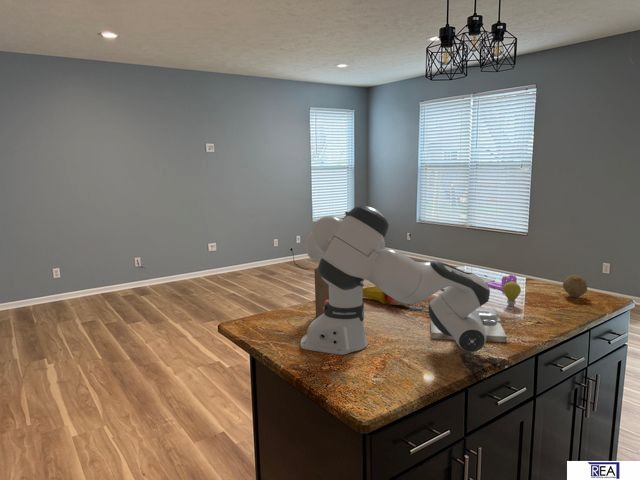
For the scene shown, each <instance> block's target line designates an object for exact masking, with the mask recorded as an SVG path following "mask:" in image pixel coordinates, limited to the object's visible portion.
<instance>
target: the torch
mask: <svg viewBox="0 0 640 480" xmlns="http://www.w3.org/2000/svg"><path fill="white" fill-rule="evenodd" d="M362 295H364V296H365V297H367V298H369V299H371V300H375V301H378V302H380V303H381V304H384V305H387V304H389V303H390V304H391V305H392V306H393V305H395V306H403V307H406V308H410V304H405V303H401V302H399V301H397V300H395V299H393V298H391V297H390V296H388V295H387V294H385V293H384V292H383V291H381V290H380V289H379V288H378V287H377V286H376V287H375V286H374V287H372V286H370V287H368V286H367V287H363V293H362Z"/></svg>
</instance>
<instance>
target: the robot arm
mask: <svg viewBox="0 0 640 480" xmlns="http://www.w3.org/2000/svg"><path fill="white" fill-rule="evenodd" d="M344 214H345V216H344V217H343V218H341V217H340V216H334V215H325V216H322V217H320V218H319V219H318V220H316V221H315V223H314V224H313V227H312V229H311V231H310V233H308V235H307V237H306V239H305V244H304V246H305V252H306V255H307V256H308V257H309V259H310V260H313V261H317V262H319V264H318V266H317V267H318V273H319V275H320V276H321V277H322V279H323V280H324V281H325V282H326V283H327V284H328V285H329V300H326V301H325V302H324V305H323V312H324V313H323V314H322V315H320V316H319V317H318V318H316V317H315V319H314V320H313V321H311V323H310V324H309V326H308V329H307V333H306V334H304V335H303V336H302V338H301V340H300V348H301V349H303V350H307V351H314V352H320V353H326V354H334V355H339V356H345V355H347V354H349V353H354V352H358V351H360V350H361V351H362V350H363V349H366V347H367V346H368V344H369V342H368V339H367V336H366V330H365V323H364V320H365V305H364V304H365V303H364V301H363V288H364V285H365V284H364V281H369V282H370V283H372V284H373V285H374V286H376V287H378V288H379V289H380V290H381V291H383V292H384V293H385V294H387V295H388V296H390V297H391V298H393V299H395V300H397V301H399V302H401V303H405V304H409V305H414V304H419V303H422V302H424V301H425V300H426V299H428V298H430V297H431V296H433V295H434V294H436V293H438V292H439V291H442V290H441V289H443V288H445V287H448V286H449V287H448V288H447V289H446V290H444V291H442V292H440V293H439V294H437V296H436V297H434V298H433V299H432V300H431V301H430V302H428V308H427V309H428V316H429V318H430V321H431V320H432V322H433V323H434V325H435V326H436V327H437V328H438V330H440V331H441V332H442V333H443V334H445V335H448V336H453V337H454V339H453V340H455V342H456V343H457V345H458V346H459V348H460V349H462V350H463V351H464V352H469V353H474V352H478V351H479V350H481V349H482V348H483V347H484V346H485V345H486V342H487V341H486V331H485V328H484V326H495V325H496V324H497V323H500V324H501V322H502V320H501V318H500V317H498V310H497V309H496V308H492V307H491V308H490V307H482V306H483V305H485V304H486V303H488V302H489V301H490V293H491V292H490V291H491V290H490V287H488V286H487V284H486V283H485V281H484V280H483V279H481V278H480V277H481V276H480V275H478V274H475V273H473V272H467V271H464V270H461V269H459V268H457V267H455V266H453V265H450V264H448V263H444V262H441V261H438V260H431V261H427V262H425V261H424V262H421V261H416V260H414V259H413V258H411V257H410V256H408V255H406V254H403V253H402V252H400V251H397V250H395V249H390V248H386V242H385V239H384V238H385V237H386V234H387V233H388V229H389V222H388V220H387V218H385V216H384V214H382V213H381V212H380V211H379V210H378V209H376V208H374V207H371V206H367V205H363V204H362V205H358V206H355V207H353V208H352V209H351V210H349V211H345V212H344Z"/></svg>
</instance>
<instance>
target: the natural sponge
mask: <svg viewBox="0 0 640 480" xmlns="http://www.w3.org/2000/svg"><path fill="white" fill-rule="evenodd" d="M562 287H563V290H564V291H565V292H566V293H567V294H568V295H569V296H570V297H571V298H574V299H576V298H579V297H580V296H583V295H584V294H586V293H587V291H588V285H587V283H586V280H585V278H583V276H580V275H578V274H572V275H569V276H567V277H566V278H565V279H564V282H562Z"/></svg>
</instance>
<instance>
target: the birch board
mask: <svg viewBox="0 0 640 480" xmlns="http://www.w3.org/2000/svg"><path fill="white" fill-rule="evenodd" d="M484 328H485V331H486V342H495V343H497V342H498V343H507V334H506V332H505V330H504V328H503V326H502V324H501V323H497V324H496V325H495V326H484ZM430 334H431V336H430V337H431V339H443V340H455V339H454V337H453V336H448V335H445V334H443V333H442V332H441V331H440V330H438V328H437V327H436V326H435V325H434V323H433V322H432V320H431V319H430Z"/></svg>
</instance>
